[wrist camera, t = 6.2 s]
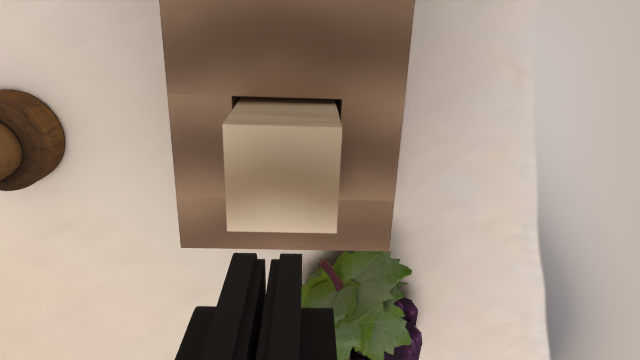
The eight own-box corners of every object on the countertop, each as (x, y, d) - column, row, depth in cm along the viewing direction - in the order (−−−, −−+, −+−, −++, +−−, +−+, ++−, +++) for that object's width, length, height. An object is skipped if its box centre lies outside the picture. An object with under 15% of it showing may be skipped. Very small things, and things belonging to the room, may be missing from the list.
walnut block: (185, -213, 25) (132, -305, 17) (403, -201, 25) (444, -286, 18) (208, 193, 34) (180, 247, 26) (371, 196, 34) (389, 251, 27)
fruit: (341, 337, 43) (255, 238, 34) (451, 306, 39) (385, 189, 31) (346, 458, 35) (234, 367, 26) (484, 431, 32) (406, 318, 23)
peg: (246, 89, 26) (222, 124, 19) (332, 92, 27) (342, 127, 19) (248, 170, 28) (226, 231, 21) (328, 172, 28) (336, 233, 21)
